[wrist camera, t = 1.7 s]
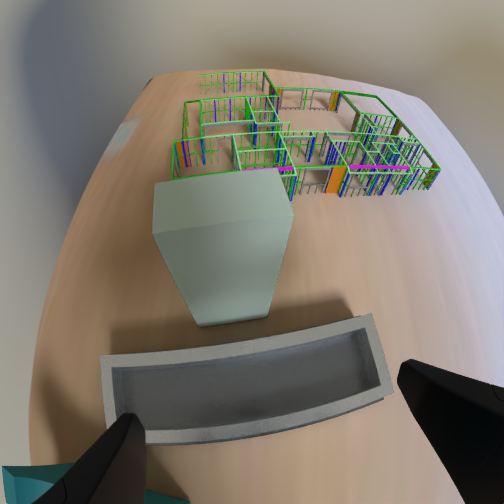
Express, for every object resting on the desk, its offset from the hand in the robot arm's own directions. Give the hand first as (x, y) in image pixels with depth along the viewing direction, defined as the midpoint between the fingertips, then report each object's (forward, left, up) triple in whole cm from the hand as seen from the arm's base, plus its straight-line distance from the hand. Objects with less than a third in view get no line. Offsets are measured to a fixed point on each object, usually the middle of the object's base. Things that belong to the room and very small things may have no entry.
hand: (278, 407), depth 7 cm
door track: (+1, 0, -14) cm, 14 cm away
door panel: (+7, -5, -14) cm, 17 cm away
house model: (+17, -33, -15) cm, 40 cm away
